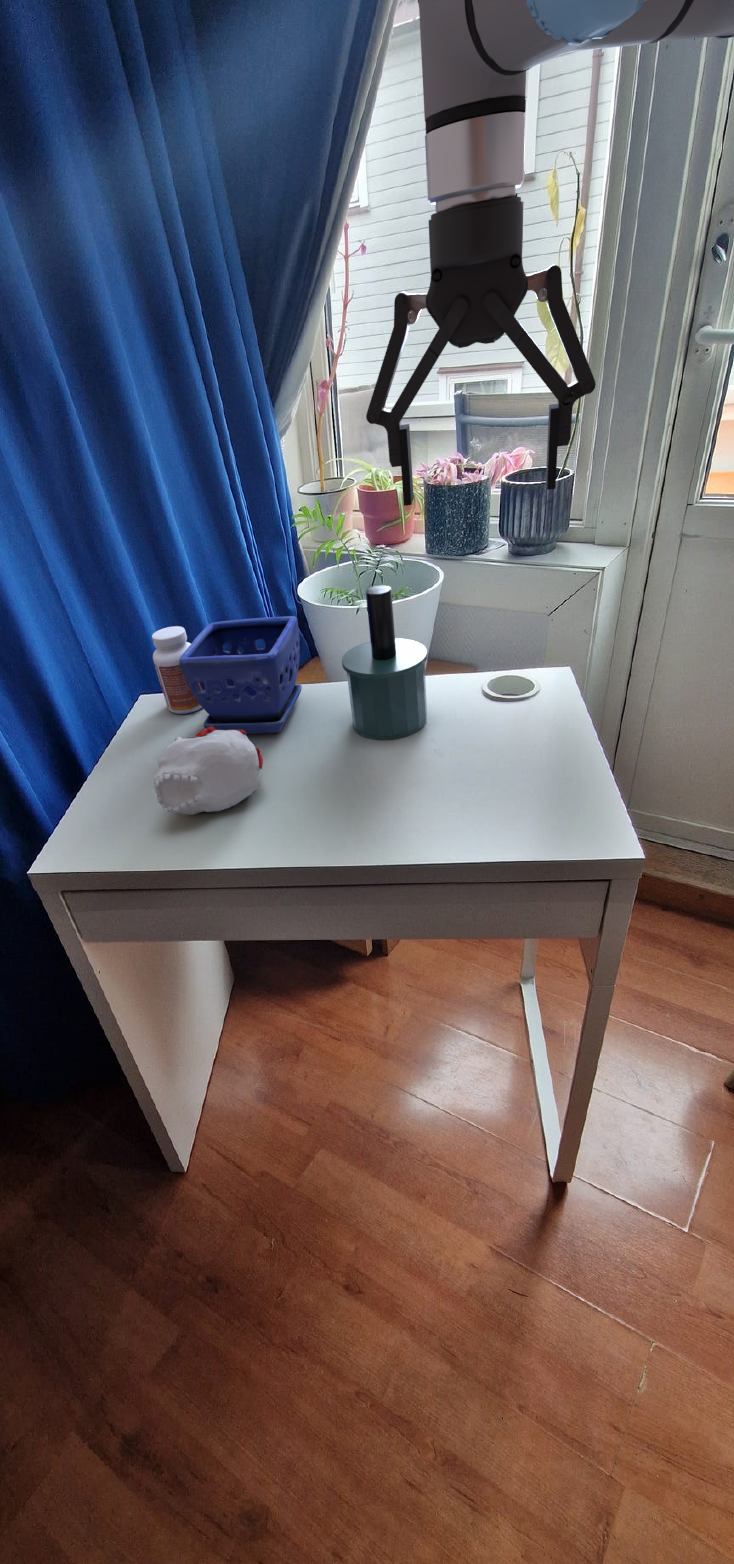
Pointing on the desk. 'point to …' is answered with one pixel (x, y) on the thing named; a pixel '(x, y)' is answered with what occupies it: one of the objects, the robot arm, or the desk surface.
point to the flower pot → (245, 673)
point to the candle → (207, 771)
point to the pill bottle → (173, 669)
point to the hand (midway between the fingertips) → (478, 494)
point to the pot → (388, 704)
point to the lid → (383, 643)
